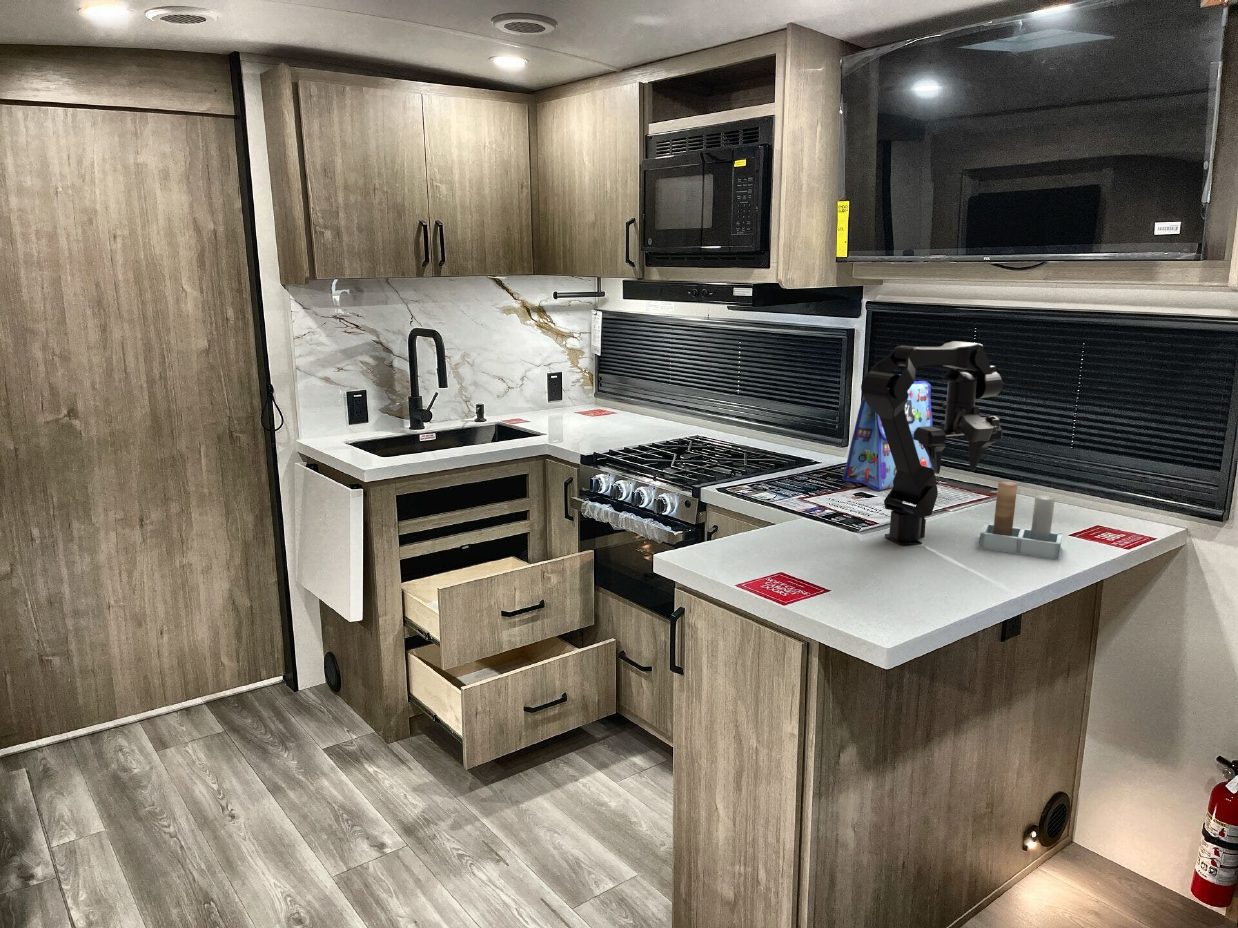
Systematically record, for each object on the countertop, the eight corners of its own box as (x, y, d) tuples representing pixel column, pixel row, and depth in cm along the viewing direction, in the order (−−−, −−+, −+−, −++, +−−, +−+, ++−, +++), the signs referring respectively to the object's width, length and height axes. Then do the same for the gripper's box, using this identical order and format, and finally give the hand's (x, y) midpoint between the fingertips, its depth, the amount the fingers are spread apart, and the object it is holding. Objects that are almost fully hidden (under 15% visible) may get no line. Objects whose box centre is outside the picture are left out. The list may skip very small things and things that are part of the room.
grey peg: (1037, 553, 180) (1044, 501, 177) (1025, 548, 183) (1031, 496, 181) (1052, 552, 181) (1058, 499, 178) (1039, 546, 184) (1045, 495, 182)
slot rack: (977, 551, 183) (979, 533, 183) (983, 539, 191) (985, 522, 190) (1058, 563, 177) (1060, 545, 176) (1060, 550, 184) (1063, 532, 183)
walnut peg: (1007, 548, 183) (1014, 487, 180) (989, 544, 185) (995, 484, 182) (1012, 543, 186) (1019, 483, 182) (994, 540, 188) (1001, 480, 184)
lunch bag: (880, 492, 228) (888, 380, 221) (840, 480, 239) (847, 373, 232) (936, 481, 239) (946, 373, 232) (896, 470, 250) (904, 368, 244)
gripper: (948, 410, 181) (942, 484, 185) (1023, 404, 186) (1016, 476, 190) (914, 401, 191) (909, 471, 195) (987, 396, 197) (981, 465, 200)
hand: (954, 471), depth 195 cm, fingers open, 9 cm apart
